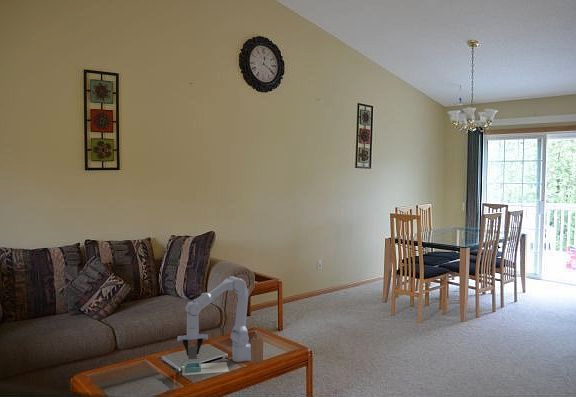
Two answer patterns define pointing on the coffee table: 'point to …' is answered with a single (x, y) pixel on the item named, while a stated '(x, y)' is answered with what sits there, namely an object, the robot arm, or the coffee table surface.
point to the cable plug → (192, 351)
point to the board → (204, 368)
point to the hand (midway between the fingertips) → (192, 354)
